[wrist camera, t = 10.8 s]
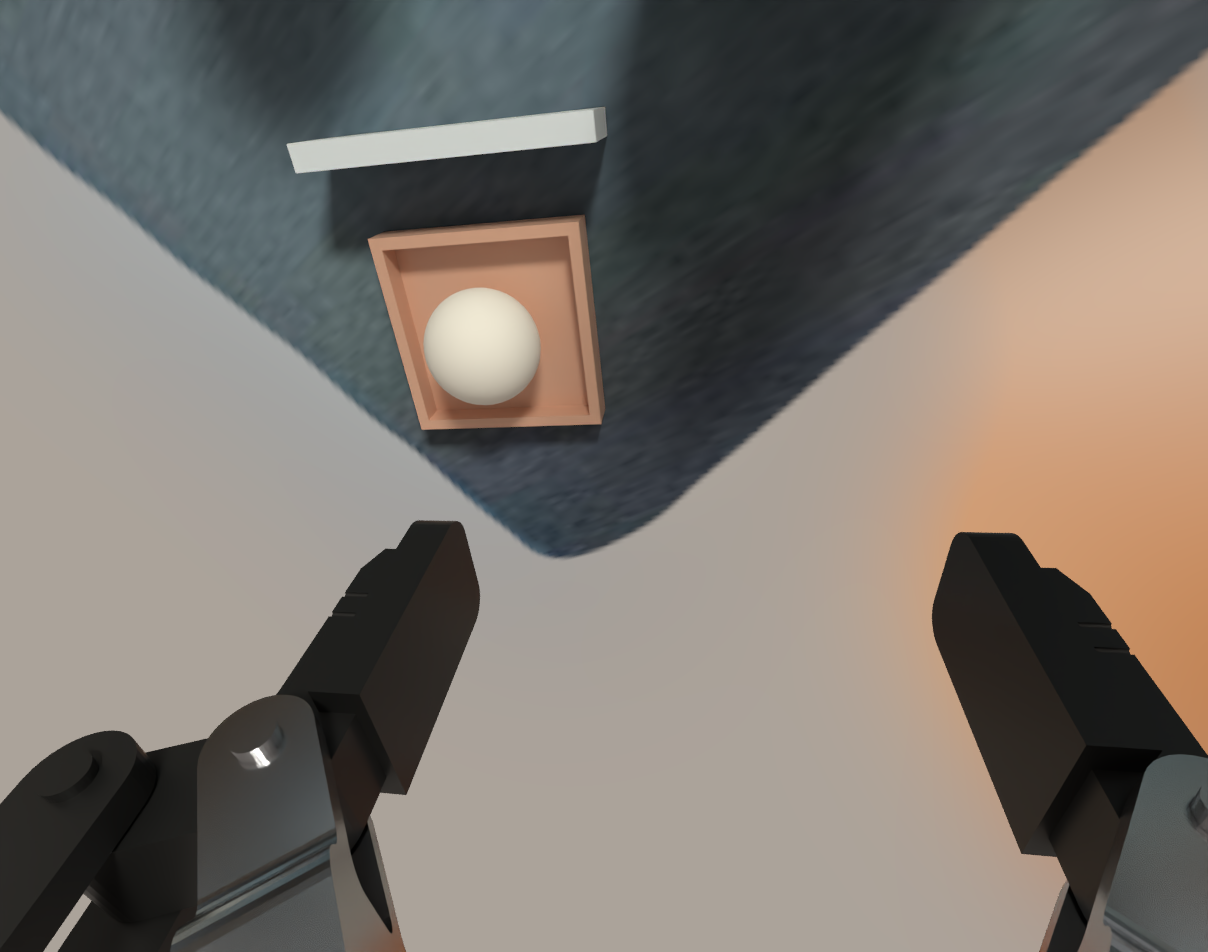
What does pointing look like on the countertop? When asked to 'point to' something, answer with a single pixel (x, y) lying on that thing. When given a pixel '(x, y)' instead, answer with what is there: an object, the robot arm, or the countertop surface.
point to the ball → (482, 346)
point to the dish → (525, 272)
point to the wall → (450, 140)
